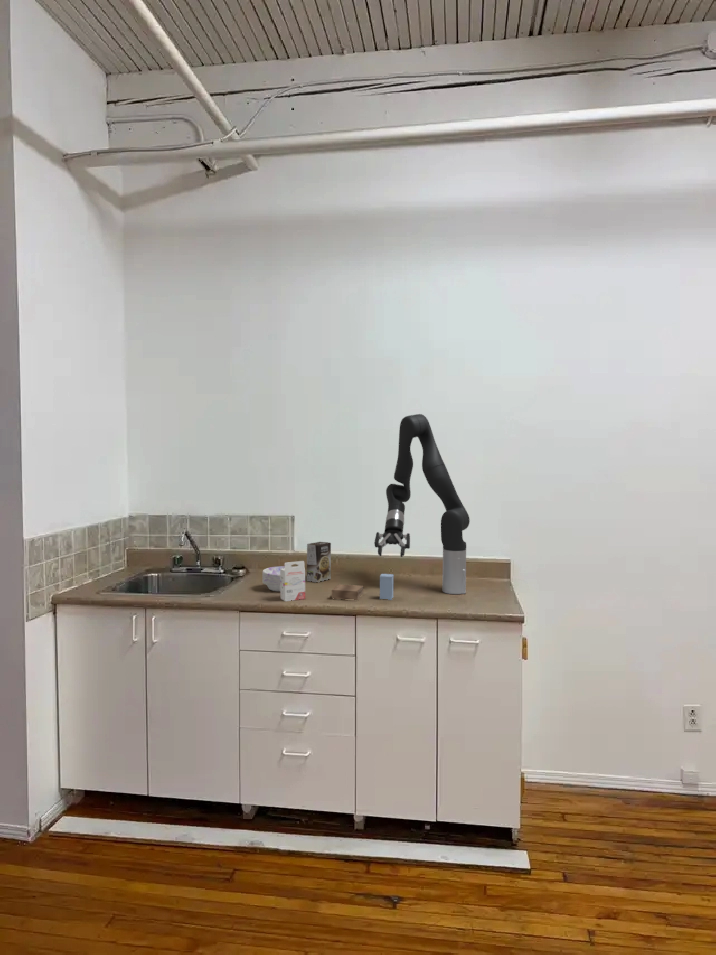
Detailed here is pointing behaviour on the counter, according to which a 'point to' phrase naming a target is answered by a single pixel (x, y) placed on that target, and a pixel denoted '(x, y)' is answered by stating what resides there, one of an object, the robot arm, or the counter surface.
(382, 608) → the counter surface
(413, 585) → the counter surface
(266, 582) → the paper bowls
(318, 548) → the coffee box
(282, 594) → the ink cartridge box
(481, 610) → the counter surface
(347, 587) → the walnut block
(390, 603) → the counter surface
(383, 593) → the slate block
